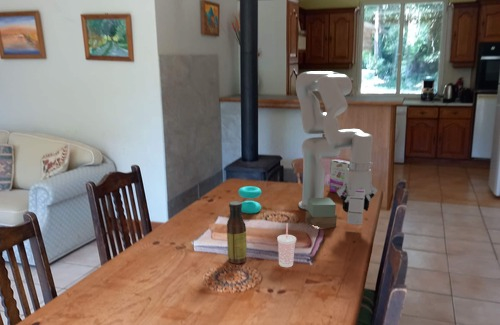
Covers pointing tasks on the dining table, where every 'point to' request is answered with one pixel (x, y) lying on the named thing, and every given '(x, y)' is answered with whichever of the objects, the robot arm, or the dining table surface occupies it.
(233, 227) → the sauce bottle
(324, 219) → the tower base
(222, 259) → the dining table surface
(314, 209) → the tower top
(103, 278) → the dining table surface
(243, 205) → the donuts
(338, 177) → the candy bar box
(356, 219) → the syrup box
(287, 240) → the beverage cup
